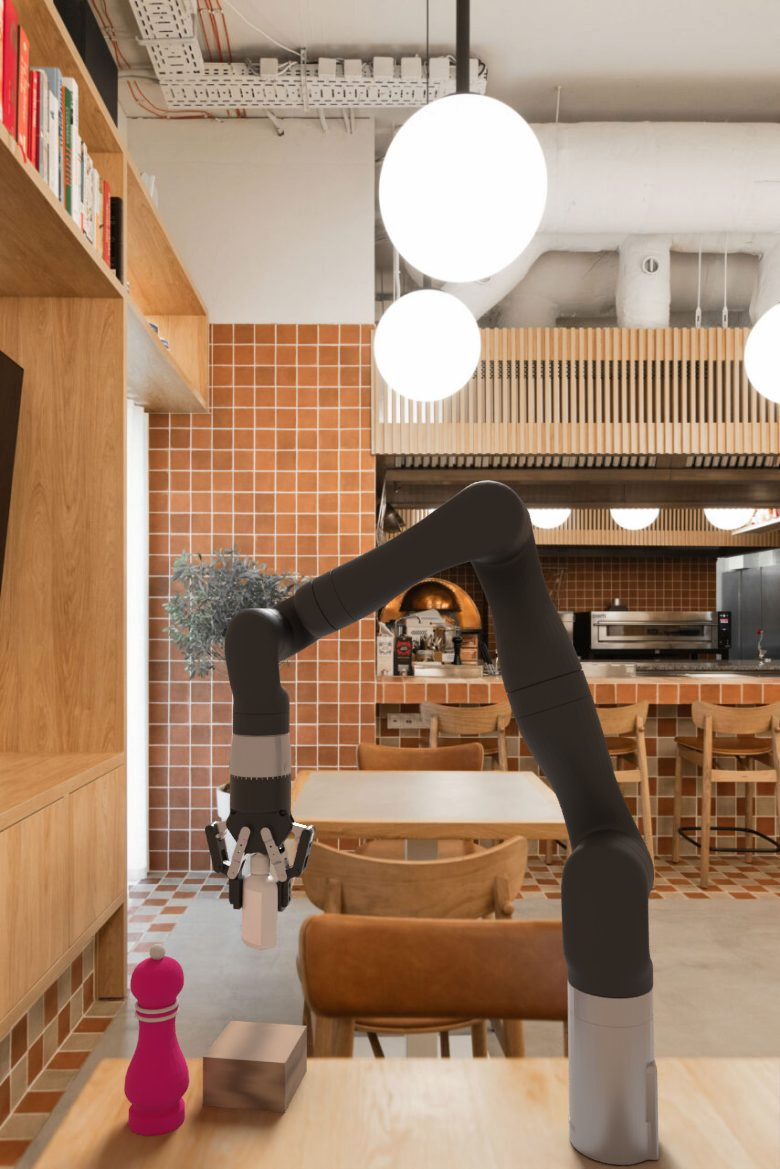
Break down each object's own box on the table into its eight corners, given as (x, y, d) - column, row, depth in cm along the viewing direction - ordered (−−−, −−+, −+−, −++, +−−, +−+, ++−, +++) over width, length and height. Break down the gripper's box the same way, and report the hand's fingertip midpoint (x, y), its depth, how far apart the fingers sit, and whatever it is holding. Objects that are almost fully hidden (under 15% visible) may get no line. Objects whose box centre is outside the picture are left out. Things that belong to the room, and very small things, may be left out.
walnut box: (306, 1074, 118) (306, 1025, 118) (285, 1115, 108) (285, 1062, 108) (231, 1068, 120) (231, 1020, 120) (202, 1108, 110) (202, 1056, 110)
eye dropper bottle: (240, 952, 111) (241, 850, 112) (241, 937, 116) (243, 840, 117) (277, 951, 111) (278, 849, 112) (277, 936, 117) (278, 839, 118)
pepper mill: (172, 1142, 102) (173, 957, 103) (112, 1135, 104) (113, 953, 104) (199, 1108, 109) (199, 935, 110) (142, 1102, 111) (142, 931, 112)
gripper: (324, 766, 118) (323, 902, 117) (216, 763, 120) (214, 896, 120) (309, 776, 110) (308, 922, 110) (194, 772, 113) (192, 915, 112)
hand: (259, 908), depth 115 cm, fingers closed on eye dropper bottle, 5 cm apart
